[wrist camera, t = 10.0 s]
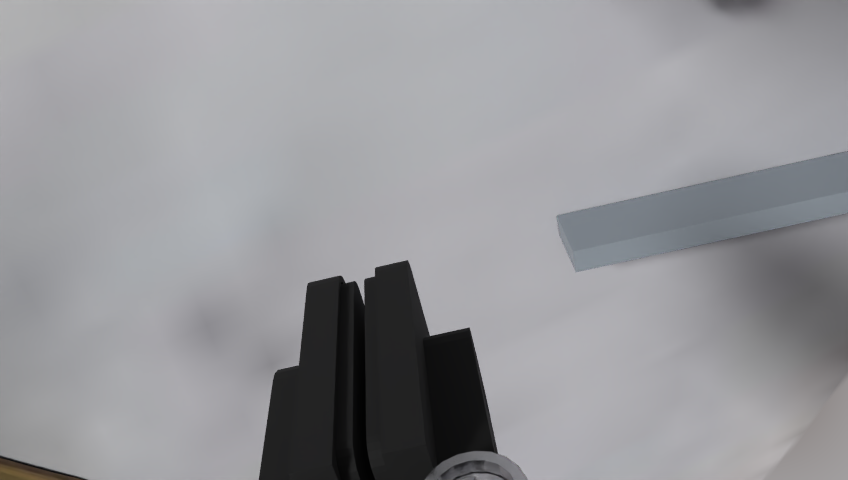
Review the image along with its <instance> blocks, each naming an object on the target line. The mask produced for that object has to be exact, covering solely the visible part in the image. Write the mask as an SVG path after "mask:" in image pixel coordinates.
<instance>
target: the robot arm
mask: <svg viewBox="0 0 848 480" xmlns="http://www.w3.org/2000/svg"><path fill="white" fill-rule="evenodd" d="M364 292H365V306H364V303H363V299H362V296H361V293H360V290H359V288H358V285H357V283H356V282H355V281H354V282H349V283H345V281H344V279H343V277H342V276H336V277H332V278H328V279H323V280H319V281H314V282H310V283H308V285H307V292H306V302H305V312H304V322H303V332H302V341H301V351H300V361H299V366H294V367H290V368H285V369H281V370H277V372H276V373H275V375H274V379H273V385H272V392H271V399H270V406H269V413H268V420H267V427H266V434H265V441H264V448H263V455H262V462H261V469H260V476H259V480H528V479H527V477H526V476H525V474H524V473H523V472H522V470H521V469H520V467H519V466H518V465H517V464H516V463H514V462H513V461H511V460H510V459H509V458H507V457H505V456H502V455H499V454H498V452H497V447H496V442H495V437H494V432H493V428H492V423H491V418H490V413H489V409H488V404H487V399H486V395H485V390H484V386H483V381H482V377H481V373H480V368H479V364H478V360H477V356H476V352H475V348H474V343H473V339H472V335H471V331H470V328H465V329H461V330H456V331H452V332H447V333H443V334H438V335H434V336H430V335H429V331H428V328H427V324H426V321H425V317H424V314H423V310H422V306H421V303H420V299H419V296H418V292H417V289H416V285H415V281H414V278H413V274H412V271H411V267H410V264H409V262H408V260H407V261H402V262H398V263H393V264H389V265H385V266H380V267H376V268H375V277H371V278H367V279H365V281H364Z"/></svg>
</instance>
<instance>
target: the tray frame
mask: <svg viewBox="0 0 848 480" xmlns="http://www.w3.org/2000/svg"><path fill="white" fill-rule="evenodd" d="M846 213H848V151H847V152H842V153H838V154H833V155H829V156H824V157H820V158H815V159H810V160H806V161H801V162H797V163H792V164H788V165H783V166H779V167H774V168H770V169H765V170H761V171H756V172H752V173H747V174H743V175H738V176H734V177H729V178H725V179H720V180H716V181H711V182H707V183H702V184H698V185H693V186H689V187H684V188H680V189H675V190H671V191H666V192H662V193H657V194H653V195H648V196H644V197H639V198H635V199H630V200H626V201H621V202H617V203H612V204H608V205H603V206H599V207H594V208H590V209H585V210H580V211H576V212H571V213H567V214H562V215H558V216H557V222H558V229H559V235H560V238H561V240H562V242H563V244H564V247H565V249H566V251H567V253H568V256H569V258H570V260H571V262H572V265H573V267H574V269H575V271H576V272H579V271H584V270H588V269H593V268H598V267H602V266H607V265H611V264H616V263H621V262H625V261H630V260H634V259H639V258H644V257H648V256H653V255H657V254H662V253H667V252H671V251H676V250H680V249H685V248H690V247H694V246H699V245H703V244H708V243H713V242H717V241H722V240H726V239H731V238H736V237H740V236H745V235H749V234H754V233H759V232H763V231H768V230H772V229H777V228H782V227H786V226H791V225H795V224H800V223H805V222H809V221H814V220H818V219H823V218H828V217H832V216H837V215H841V214H846Z"/></svg>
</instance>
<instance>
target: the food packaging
mask: <svg viewBox="0 0 848 480" xmlns="http://www.w3.org/2000/svg"><path fill="white" fill-rule="evenodd" d="M0 480H82V479H79V478H75V477H71V476H66V475H62V474H58V473H54V472H50V471H47V470H43V469H40V468H36V467H33V466H29V465H26V464H22V463H18V462H14V461H10V460H6V459H3V458H0Z"/></svg>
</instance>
